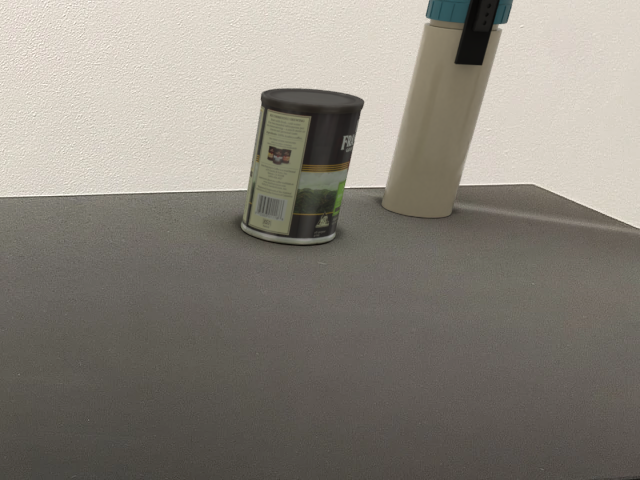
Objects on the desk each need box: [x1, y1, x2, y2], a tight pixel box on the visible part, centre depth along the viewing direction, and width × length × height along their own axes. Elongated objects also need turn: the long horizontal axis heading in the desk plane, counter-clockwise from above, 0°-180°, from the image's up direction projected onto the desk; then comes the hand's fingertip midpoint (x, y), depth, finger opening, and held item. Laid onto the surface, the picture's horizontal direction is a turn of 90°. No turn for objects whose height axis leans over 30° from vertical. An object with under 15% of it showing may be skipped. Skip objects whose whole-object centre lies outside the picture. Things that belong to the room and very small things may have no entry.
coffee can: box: [240, 87, 365, 246], centre depth 103 cm, size 10×10×14 cm
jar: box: [381, 19, 503, 219], centre depth 110 cm, size 8×8×22 cm
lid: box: [425, 0, 514, 25], centre depth 105 cm, size 8×8×2 cm
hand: (455, 58), depth 107 cm, fingers closed on lid, 8 cm apart
